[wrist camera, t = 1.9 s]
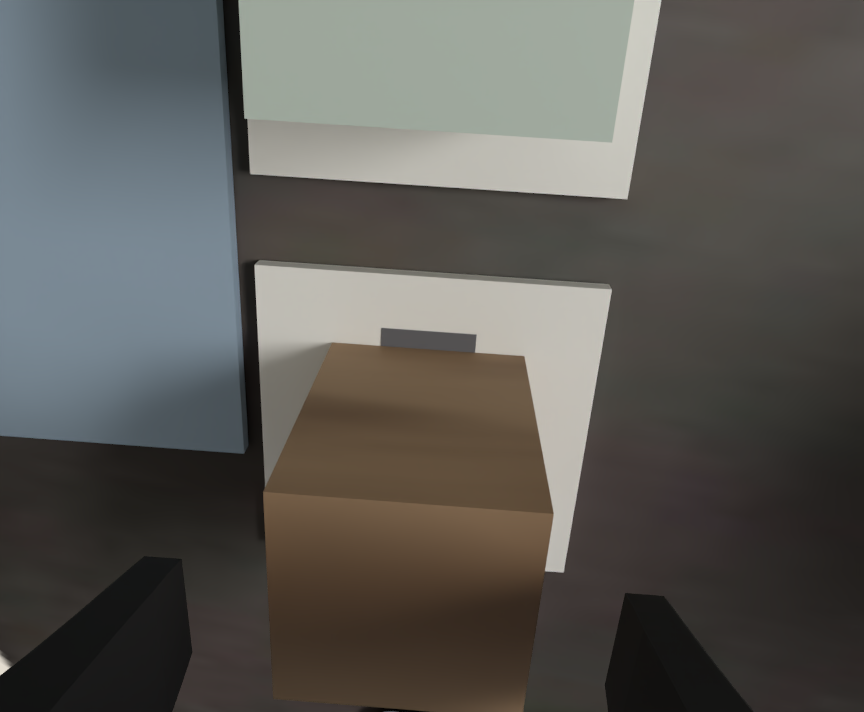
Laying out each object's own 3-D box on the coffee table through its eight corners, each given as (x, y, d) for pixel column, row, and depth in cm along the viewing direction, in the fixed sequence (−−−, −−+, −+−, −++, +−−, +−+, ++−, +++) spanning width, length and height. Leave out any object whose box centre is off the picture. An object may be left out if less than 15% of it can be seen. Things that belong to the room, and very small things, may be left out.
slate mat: (248, 445, 18) (244, 453, 18) (-19, 425, 18) (-28, 433, 18) (216, -101, 13) (209, -105, 13) (-148, -123, 13) (-165, -128, 13)
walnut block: (504, 514, 18) (521, 719, 12) (332, 501, 18) (273, 698, 13) (524, 356, 16) (553, 514, 11) (331, 342, 16) (262, 492, 11)
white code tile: (561, 562, 19) (563, 573, 19) (271, 540, 19) (268, 550, 19) (608, 284, 16) (612, 289, 15) (259, 260, 16) (254, 265, 16)
